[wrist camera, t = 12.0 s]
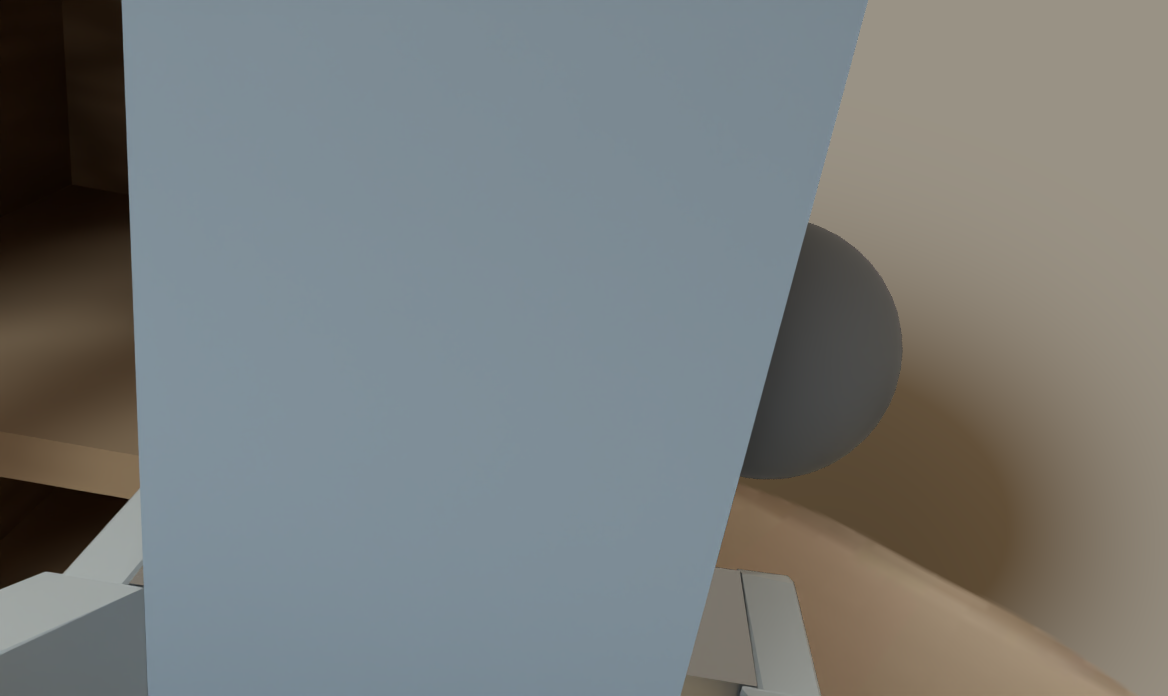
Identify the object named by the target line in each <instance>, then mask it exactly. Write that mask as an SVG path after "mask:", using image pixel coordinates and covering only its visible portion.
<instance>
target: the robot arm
mask: <svg viewBox="0 0 1168 696" xmlns="http://www.w3.org/2000/svg"><path fill="white" fill-rule="evenodd" d="M0 696H148V684H147V657H146V631H145V605H144V578H143V552H142V525H141V499H140V488H139V489H138V491H137V492H136V493H135V494H134V495H133V496H132V497H131V498H130V499H129V501H128V502H127V503H126V504H125V505H124V506H123V507H122V508H121V509H120V511H119V512H118V513H117V514H116V515H115V516H114V517H113V518H112V519H111V521H110V522H109V523H108V524H107V525H106V526H105V527H104V528H103V530H102V531H101V532H100V533H99V534H98V535H97V536H96V537H95V538H94V540H93V541H92V542H91V543H90V544H89V545H88V546H87V547H86V548H85V550H84V551H83V552H82V553H81V554H80V555H79V556H78V557H77V558H76V560H75V561H74V562H73V563H72V564H71V565H70V566H69V567H68V568H67V570H66V571H65V572H64V573H63V574H58V573H52V572H43V573H41V574H38V575H36V576H33V577H31V578H28V579H25V580H23V581H20V582H18V583H15V584H13V585H10V586H8V587H5V588H3V589H0ZM680 696H821V692H820V688H819V684H818V680H817V676H816V672H815V668H814V663H813V659H812V655H811V651H810V647H809V643H808V639H807V634H806V630H805V626H804V622H803V618H802V614H801V610H800V606H799V601H798V597H797V593H796V589H795V585H794V582H793V581H792V580H791V579H790V578H789V577H788V576H786V575H779V574H771V573H764V572H756V571H749V570H742V569H737V570H732V569H725V568H719V567H715V569H714V573H713V577H712V580H711V584H710V588H709V592H708V595H707V599H706V603H705V606H704V610H703V614H702V618H701V621H700V625H699V629H698V632H697V636H696V640H695V643H694V647H693V651H692V655H691V658H690V662H689V666H688V669H687V673H686V677H685V681H684V684H683V688H682V692H681V695H680Z"/></svg>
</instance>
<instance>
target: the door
mask: <svg viewBox="0 0 1168 696" xmlns="http://www.w3.org/2000/svg"><path fill="white" fill-rule="evenodd" d="M867 2H868V0H122V24H123V50H124V77H125V103H126V129H127V156H128V182H129V209H130V235H131V262H132V288H133V314H134V341H135V367H136V394H137V420H138V446H139V473H140V499H141V525H142V552H143V578H144V605H145V631H146V657H147V684H148V696H680V695H681V692H682V688H683V684H684V681H685V677H686V673H687V669H688V666H689V662H690V658H691V655H692V651H693V647H694V643H695V640H696V636H697V632H698V629H699V625H700V621H701V618H702V614H703V610H704V606H705V603H706V599H707V595H708V592H709V588H710V584H711V580H712V577H713V573H714V569H715V566H716V562H717V558H718V555H719V551H720V547H721V543H722V540H723V536H724V532H725V529H726V525H727V521H728V517H729V514H730V510H731V506H732V503H733V499H734V495H735V492H736V488H737V484H738V480H739V477H740V476H741V477H746V478H753V479H784V478H791V477H795V476H800V475H804V474H808V473H811V472H814V471H817V470H819V469H821V468H824V467H826V466H829V465H830V464H832V463H834V462H836V461H837V460H839V459H841V458H842V457H844V456H845V455H847V454H848V453H850V452H851V451H852V450H853V449H854V448H855V447H857V446H858V445H859V444H860V443H861V442H862V441H863V440H865V439H866V437H867V436H868V435H869V434H870V433H871V431H872V430H873V429H874V428H875V427H876V426H877V424H878V423H879V421H880V419H881V418H882V416H883V415H884V413H885V411H886V409H887V408H888V406H889V404H890V402H891V399H892V397H893V395H894V392H895V390H896V385H897V382H898V378H899V374H900V369H901V361H902V334H901V328H900V323H899V317H898V313H897V310H896V307H895V304H894V301H893V299H892V296H891V294H890V292H889V290H888V289H887V287H886V285H885V283H884V281H883V279H882V278H881V276H880V275H879V274H878V272H877V271H876V270H875V268H874V267H873V265H872V264H871V263H870V262H869V261H868V260H867V259H866V258H865V257H864V256H863V255H862V254H861V253H860V252H859V251H858V250H857V249H856V248H855V247H853V246H852V245H851V244H849V243H848V242H846V241H845V240H843V239H842V238H841V237H839V236H838V235H836V234H834V233H832V232H830V231H828V230H826V229H824V228H821V227H819V226H817V225H814V224H811V223H808V221H809V217H810V213H811V210H812V206H813V202H814V199H815V195H816V191H817V188H818V184H819V180H820V176H821V173H822V169H823V165H824V162H825V158H826V154H827V151H828V147H829V143H830V139H831V135H832V132H833V128H834V125H835V121H836V117H837V113H838V110H839V106H840V102H841V99H842V95H843V91H844V87H845V84H846V80H847V76H848V73H849V69H850V65H851V61H852V57H853V54H854V50H855V47H856V43H857V39H858V36H859V32H860V28H861V24H862V21H863V17H864V13H865V9H866V6H867Z"/></svg>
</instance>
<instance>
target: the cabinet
mask: <svg viewBox="0 0 1168 696" xmlns="http://www.w3.org/2000/svg"><path fill="white" fill-rule="evenodd" d="M139 488H140V473H139V446H138V420H137V394H136V367H135V341H134V314H133V288H132V262H131V235H130V209H129V182H128V156H127V129H126V103H125V77H124V50H123V24H122V0H0V589H3V588H5V587H8V586H10V585H13V584H15V583H18V582H20V581H23V580H25V579H28V578H31V577H33V576H36V575H38V574H41V573H43V572H52V573H58V574H63V573H64V572H65V571H66V570H67V568H68V567H69V566H70V565H71V564H72V563H73V562H74V561H75V560H76V558H77V557H78V556H79V555H80V554H81V553H82V552H83V551H84V550H85V548H86V547H87V546H88V545H89V544H90V543H91V542H92V541H93V540H94V538H95V537H96V536H97V535H98V534H99V533H100V532H101V531H102V530H103V528H104V527H105V526H106V525H107V524H108V523H109V522H110V521H111V519H112V518H113V517H114V516H115V515H116V514H117V513H118V512H119V511H120V509H121V508H122V507H123V506H124V505H125V504H126V503H127V502H128V501H129V499H130V498H131V497H132V496H133V495H134V494H135V493H136V492H137V491H138V489H139Z"/></svg>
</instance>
